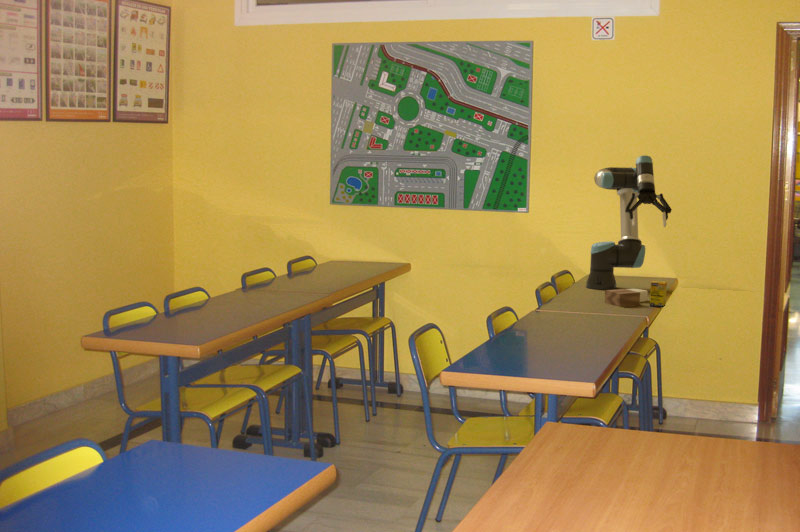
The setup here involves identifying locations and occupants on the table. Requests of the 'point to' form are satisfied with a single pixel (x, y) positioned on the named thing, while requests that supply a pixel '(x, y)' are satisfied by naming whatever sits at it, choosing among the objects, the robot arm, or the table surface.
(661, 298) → the supplement box
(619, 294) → the walnut block
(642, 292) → the off-white block
